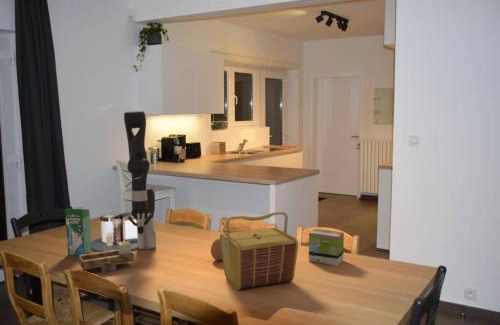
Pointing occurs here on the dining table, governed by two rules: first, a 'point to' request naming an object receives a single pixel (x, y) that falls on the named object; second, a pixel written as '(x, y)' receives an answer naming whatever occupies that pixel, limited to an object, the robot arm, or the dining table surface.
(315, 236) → the tea box
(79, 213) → the milk carton
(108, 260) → the beam
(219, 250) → the egg
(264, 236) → the picnic basket
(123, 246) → the block
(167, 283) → the dining table surface
